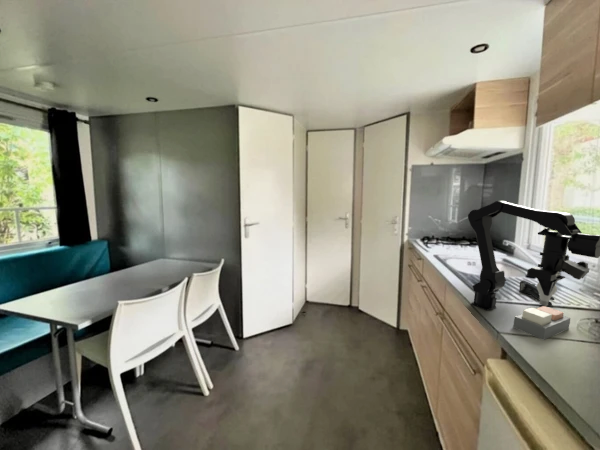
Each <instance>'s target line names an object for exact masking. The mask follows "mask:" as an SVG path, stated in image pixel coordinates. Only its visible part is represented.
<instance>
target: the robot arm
mask: <svg viewBox="0 0 600 450" xmlns="http://www.w3.org/2000/svg"><path fill="white" fill-rule="evenodd" d="M501 213H503V214H508V215H510V216H511V215H512V216H515V217H518V218H522V219H525V220H528V221H529V220H530V221H532V222H535V223H537V224H538V225H540V226H541V227H544V229H542V230H541V231H539V232H537V234H538V236H539V235H540V236H545V237H544V243H543V249H542V251H540V252H539V256H541V260H540V262H539V263H538V265H537V266H533V267H530V268H528V269H527V273H526V276H527V277H532V278H535V279H537V281H538V283H540V285H541V288H542V290H543V293H544V295H546V296H549V295H550V293H551V292H552V290H553V288H554V286H555V285H556V284H557V283H558V282H559V281H561V280H563V279H565V278H566V276H563V275H561V272H562V273H566V274H567V275H569V276H571V277H572V278H574V279H576V280H581V279H584V278H585V276H587V274H588V273H589V272H590V268H589V264H588V262H586V261H583V260H581V261H578V262H577V261H573V260H570V256H569V254H567V251H569V252H570V253H571V254H572V255H578V256H583V257H588V258H594V259H599V258H600V235H599V234H588V233H587V234H586V233H582V231H581V229H579V227H578V225H577V224H576V221H575V220H576V219H575V217H574V216H573V214H571V213H569V212H564V211H552V210H541V209H536V208H533V207H532V208H531V207H528V206H525V205H520V204H515V203H513V202H507V201H506V200H495V201H494V202H492V203H490V204H488V205H484V206H483V207H480V208H478V209H472V210H471V211H469V213H468V215H467V219H468V222H469V225H470V227H471V228H472V230H473V231H474V233H475V236H476V242H477V247H478V252H479V257H480V263H481V270H480V273H479V282H476V283H475V284H473V285H472V288H473V289H472V291H474V297H473V298H474V299H473V301H471V302H470V303H471V305H473V306H475V307H478V308H480V309H482V310H485V311H489V310H493V309H496V308H497V297H496V295H497V293H498V292H499V290H500V289H503V287H505V286H506V282H507V279H506V277H505V271H504V270H500V269H499V268H498V265H497V262H496V256H495V251H494V247H493V241H492V240H493V239H492V237H491V236H492V235H491V227H492V224H493V219H494V218H495V217H498V215H500V214H501ZM556 286H557V285H556Z"/></svg>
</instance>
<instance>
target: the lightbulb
mask: <svg viewBox="0 0 600 450" xmlns="http://www.w3.org/2000/svg"><path fill="white" fill-rule="evenodd" d="M536 286H537V290H538V292H539V295H540V300H539V305H541V307H542V306H546V307H548V306H549V305H548V303H549V301H550V302H551V300H550V298H551V296H552V297H553V296H554V294H556V292H557V290H558V288H557V285H555V286H554V288H553V290H552V292H551V293H550V295H549V296H546V295H544V293H543V290H542V288H541V285H540V283H539V282H537V284H536Z"/></svg>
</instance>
